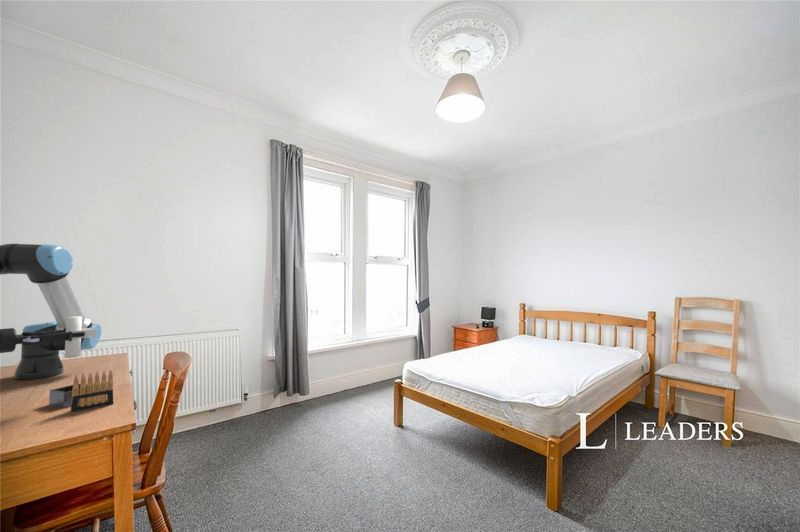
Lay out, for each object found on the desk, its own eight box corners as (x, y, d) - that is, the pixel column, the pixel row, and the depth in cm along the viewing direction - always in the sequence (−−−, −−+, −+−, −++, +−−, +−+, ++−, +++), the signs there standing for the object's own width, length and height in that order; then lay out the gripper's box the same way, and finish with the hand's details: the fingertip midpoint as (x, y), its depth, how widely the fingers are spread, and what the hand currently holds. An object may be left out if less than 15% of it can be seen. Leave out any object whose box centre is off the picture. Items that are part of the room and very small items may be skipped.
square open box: (49, 404, 117) (49, 390, 118) (77, 397, 125) (78, 383, 125) (63, 408, 115) (64, 393, 115) (91, 400, 122) (92, 386, 123)
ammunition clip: (70, 412, 112) (72, 375, 112) (70, 410, 113) (72, 374, 113) (113, 404, 119) (114, 369, 120) (112, 402, 120) (114, 368, 121)
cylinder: (61, 357, 119) (63, 317, 120) (75, 355, 123) (77, 316, 123) (68, 358, 118) (70, 318, 118) (82, 356, 122) (84, 316, 122)
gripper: (-10, 350, 110) (85, 339, 130) (0, 357, 101) (101, 345, 120) (-9, 326, 110) (86, 320, 130) (1, 332, 101) (102, 323, 121)
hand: (93, 332), depth 125 cm, fingers closed on cylinder, 4 cm apart
